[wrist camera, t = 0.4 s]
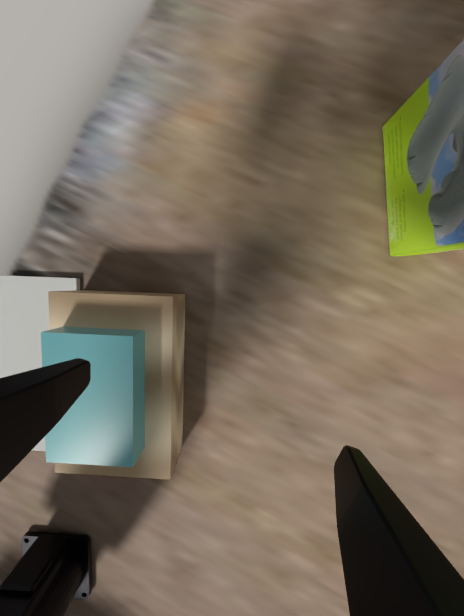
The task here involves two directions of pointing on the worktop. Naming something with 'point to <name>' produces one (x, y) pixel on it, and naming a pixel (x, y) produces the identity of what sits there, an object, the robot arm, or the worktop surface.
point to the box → (427, 164)
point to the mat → (26, 322)
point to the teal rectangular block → (100, 397)
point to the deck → (158, 367)
